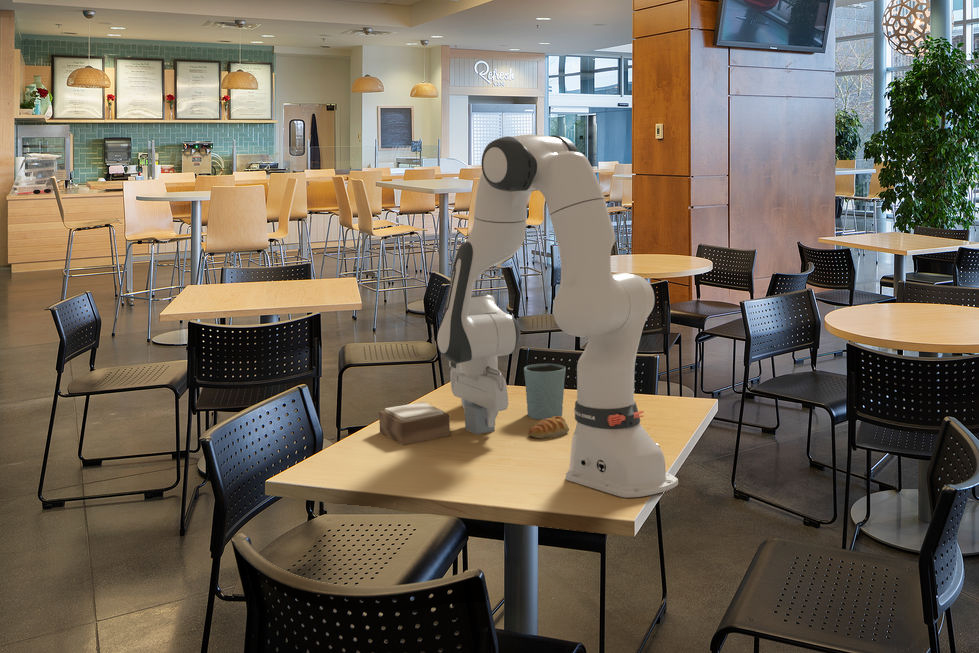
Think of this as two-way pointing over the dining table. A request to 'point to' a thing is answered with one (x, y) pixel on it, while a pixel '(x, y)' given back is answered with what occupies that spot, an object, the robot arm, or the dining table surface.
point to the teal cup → (544, 390)
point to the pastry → (549, 428)
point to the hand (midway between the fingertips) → (479, 421)
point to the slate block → (476, 419)
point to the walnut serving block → (414, 423)
